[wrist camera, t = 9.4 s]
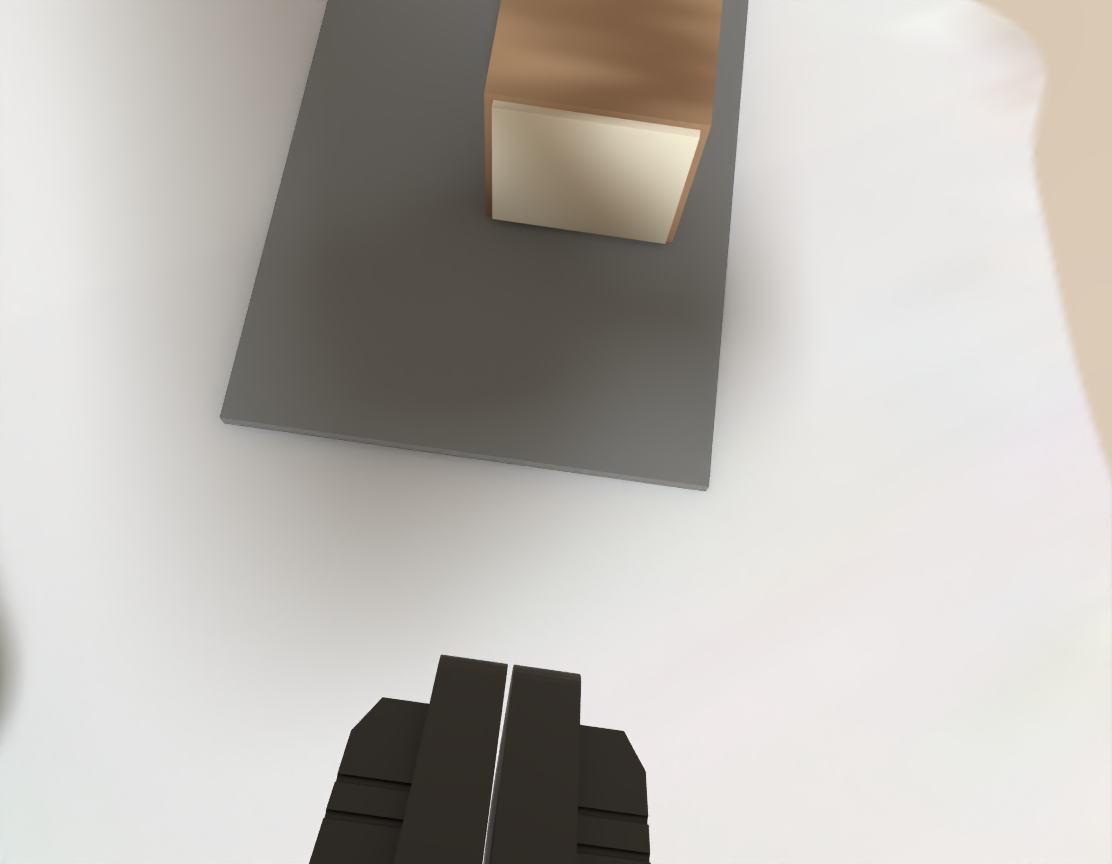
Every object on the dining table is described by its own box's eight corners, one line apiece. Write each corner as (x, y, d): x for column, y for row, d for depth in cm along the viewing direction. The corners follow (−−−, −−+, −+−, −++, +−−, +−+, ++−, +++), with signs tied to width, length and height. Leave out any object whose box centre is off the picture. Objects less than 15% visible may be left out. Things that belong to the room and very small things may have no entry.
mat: (224, 423, 24) (219, 417, 24) (364, -124, 30) (363, -136, 30) (705, 491, 24) (708, 486, 24) (751, -67, 30) (754, -77, 30)
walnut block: (482, 100, 21) (549, -258, 25) (484, 221, 26) (540, -94, 30) (710, 133, 21) (743, -228, 25) (671, 249, 26) (704, -69, 30)
